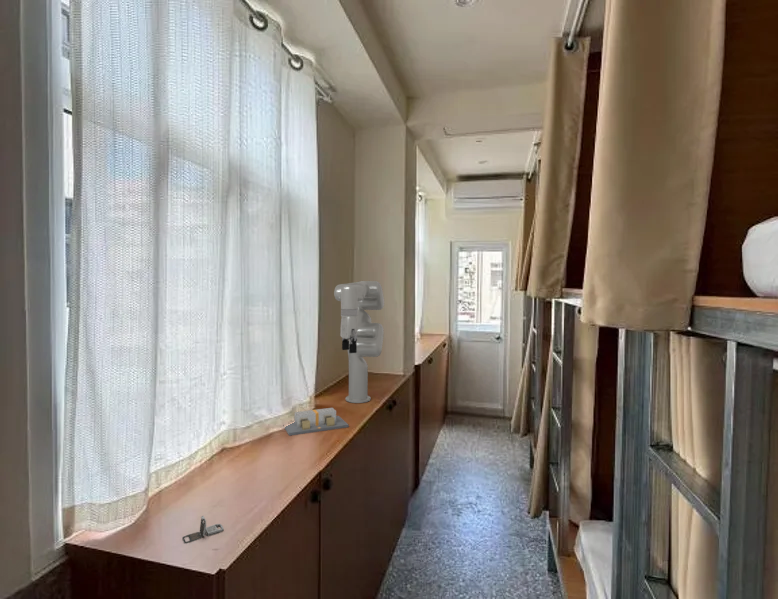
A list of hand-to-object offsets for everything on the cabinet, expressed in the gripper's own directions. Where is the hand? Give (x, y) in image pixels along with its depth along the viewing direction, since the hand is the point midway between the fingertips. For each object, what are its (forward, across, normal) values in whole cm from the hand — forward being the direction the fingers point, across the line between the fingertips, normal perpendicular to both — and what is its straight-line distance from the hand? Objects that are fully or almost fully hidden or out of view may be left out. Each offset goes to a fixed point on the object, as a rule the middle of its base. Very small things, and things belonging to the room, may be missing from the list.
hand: (349, 351), depth 186 cm
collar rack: (+28, +10, -18) cm, 35 cm away
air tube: (+27, +10, -18) cm, 34 cm away
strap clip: (+29, +72, -61) cm, 99 cm away
